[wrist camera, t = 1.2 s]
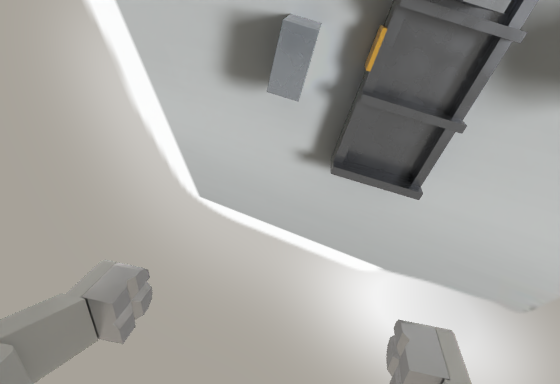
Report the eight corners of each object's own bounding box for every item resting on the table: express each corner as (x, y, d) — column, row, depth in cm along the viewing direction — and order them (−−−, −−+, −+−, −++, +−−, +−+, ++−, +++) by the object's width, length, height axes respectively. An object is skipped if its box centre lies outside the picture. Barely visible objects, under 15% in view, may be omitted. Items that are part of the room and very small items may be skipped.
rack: (444, -141, 22) (473, -174, 17) (582, -97, 22) (650, -117, 18) (327, 157, 37) (326, 185, 32) (412, 182, 37) (423, 214, 32)
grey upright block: (290, 13, 29) (283, 19, 25) (321, 23, 29) (318, 30, 25) (275, 77, 33) (266, 92, 29) (303, 85, 33) (298, 101, 29)
